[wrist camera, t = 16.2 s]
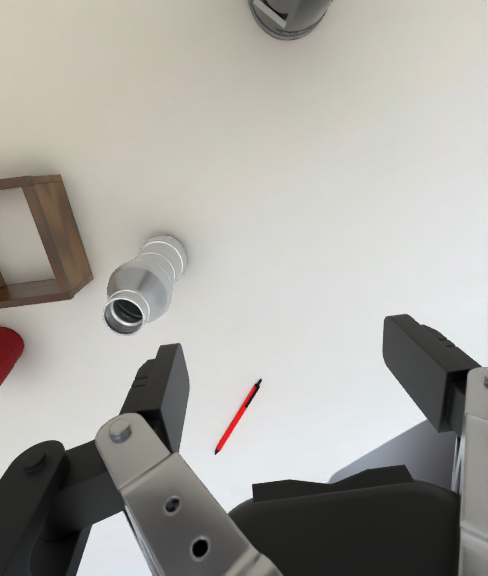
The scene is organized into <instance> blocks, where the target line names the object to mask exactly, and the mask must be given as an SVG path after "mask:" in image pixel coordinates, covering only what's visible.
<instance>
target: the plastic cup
mask: <svg viewBox="0 0 488 576" xmlns="http://www.w3.org/2000/svg"><path fill="white" fill-rule="evenodd" d="M23 349H24V343H23V340H22V338H21V337H20V336H19V334H17V333H16V332H15V331H13V330H11V329H8V328H6V327H0V386H1V384H2V383H3V381H4V380H5V378H6V377H7V375H8V374H9V373H10V371H11V370H12V368H13V367H14V364H15V363H16V361H17V360H18V359H19V357H20V356H21V354H22V352H23Z"/></svg>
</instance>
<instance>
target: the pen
mask: <svg viewBox="0 0 488 576" xmlns="http://www.w3.org/2000/svg"><path fill="white" fill-rule="evenodd" d="M261 381H262V380H261V379H260V380H259V382H258V384H255V386H254V387H253V389H252V391H251V392H250V394H249V395H248V397H247V399H246V400H245V402H244V404H243V405H242V407H241V408H240V410H239V412H238V413H237V415H236V417H235V418H234V420H233V422H232V423H231V425H230V426H229V428H228V430H227V431H226V433H225V435H224V436H223V438H222V439H221V441H220V443H219V444H218V446H217V448H216V451H215V455H216V454H217V453H218V452H219V451H220V450H221V449H222V447H223V445H224V444H225V442H226V441H227V439H228V437H229V436H230V434H231V432H232V431H233V429H234V428H235V426H236V424H237V423H238V421H239V420H240V418H241V416H242V415H243V413H244V412H245V410H246V408H247V407H248V405H249V404H250V402H251V401H252V399H253V397H254V396H255V394H256V393H257V391H258V389H259V388H260V386H259V385H260V383H261Z"/></svg>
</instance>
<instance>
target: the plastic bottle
mask: <svg viewBox="0 0 488 576" xmlns="http://www.w3.org/2000/svg"><path fill="white" fill-rule="evenodd" d="M186 266H187V256H186V252H185V249H184V247H183V246H182V244H181V243H180V242H179V241H178V240H176V239H175V238H173V237H170V236H166V235H160V236H155V237H152V238H150V239H149V240H147V241H146V242H145V243H144V244H143V246H142V248H141V250H140V252H139V255H138V257H137V258H135V259H134V260H131V261H129V262H127V263H124V264H123V265H121V266H120V267H118V268H117V269H116V270H115V271H114V272H113V273H112V275H111V277H110V279H109V283H108V287H107V296H108V302H107V303H106V305H105V307H104V310H103V320H104V322H105V324H106V325H107V327H108V328H109V329H110V330H111V331H113V332H114V333H116V334H119V335H123V336H130V335H133V334H136V333H137V332H139V331H140V330H141V329H142V328H143V326H144V324H145V323H148V322H151V321H154V320H156V319H157V318H159V317H160V316H162V315H163V314H164V313H165V312H166V310H167V309H168V307H169V305H170V302H171V298H172V289H173V284H174V282H175V281H177V280H178V279H179V278H180V277H181V276H182V275H183V273H184V272H185V269H186Z"/></svg>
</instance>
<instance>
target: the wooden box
mask: <svg viewBox="0 0 488 576" xmlns="http://www.w3.org/2000/svg"><path fill="white" fill-rule="evenodd" d="M16 187H22V189H23V192H24V194H25V197H26V200H27V202H28V205H29V208H30V210H31V213H32V216H33V219H34V221H35V224H36V227H37V229H38V232H39V235H40V237H41V240H42V243H43V245H44V248H45V251H46V254H47V256H48V259H49V262H50V264H51V267H52V270H53V272H54V275H55V278H56V279H50V280H42V281H34V282H27V283H19V284H12V285H6V284H5V282H4V280H3V277H2V275H1V273H0V309H1V308H9V307H16V306H24V305H31V304H39V303H47V302H54V301H62V300H69V299H72V298H73V297H74V295H75V294H76V293H77V292H79V291H80V290H81V289H82V288H83V287H84V286H86V285H87V284H88V283H89V282H90V281H91V280H93V275H92V272H91V269H90V266H89V263H88V260H87V257H86V254H85V250H84V247H83V244H82V241H81V238H80V235H79V232H78V229H77V226H76V223H75V219H74V216H73V213H72V210H71V207H70V204H69V201H68V198H67V195H66V192H65V188H64V185H63V182H62V179H61V176H60V175H48V176H34V177H31V176H23V177H15V178H8V179H0V190H1V189H9V188H16Z"/></svg>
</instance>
